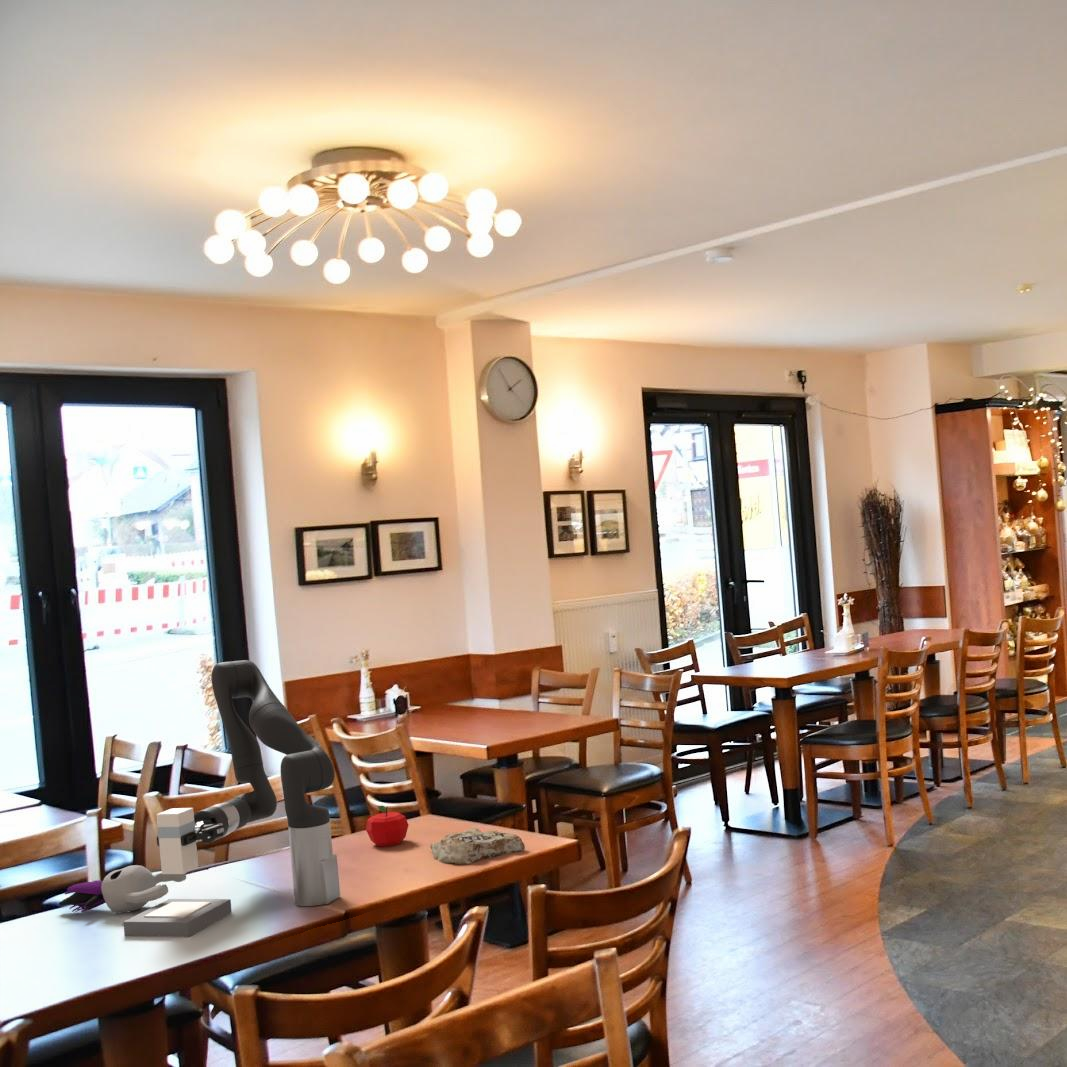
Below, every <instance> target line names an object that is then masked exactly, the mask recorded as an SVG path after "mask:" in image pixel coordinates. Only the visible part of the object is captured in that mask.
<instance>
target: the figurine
mask: <svg viewBox="0 0 1067 1067" xmlns="http://www.w3.org/2000/svg"><path fill="white" fill-rule="evenodd" d="M186 880H187V873H185V874H162V872H159V873H156V874H152V872H151V871H150V869H148V868H147V867H145V866H143V865H138V864H135V865H133V864H132V865H128V866H125V867H123V868H120V869H116V870H112V871H111V872H109V873H108V874H107V875H105V876H104V878H103V880H98V879H97V880H92V881H85V882H80V883H75V884H72V885H70V886H68V887H67V889H66V891H65V892H64V895H69V894H71V895H69V896H68V897H66V898H64V899H62V900H61V901H59V902H58V905H59V906H60V907H61V906H62V907H64V906H70V907H69V910H71V909H72V908H73V909H72V910H71V912H72V913H77V912H81V913H82V912H87V911H91V910H93V909H96V908H97V907H99V906H100V907H101V906H102V905H104V904H106V906H107V907H108V909H109V910H110V911H112V912H113V913H118V914H119V913H120V914H124V913H125V914H126V913H130V912H133V911H136V910H140V908H143V907H144V906H146V905H147V904H148V903H149V902H153V901H156V900H158V899H161V898H163V897H164V896H166V895H168V893H169V888H168V885H167V883H168V882H175V883H181V882H183V881H186ZM159 883H163V884H162V885H161V884H159ZM164 883H166V884H164ZM157 884H158V885H157ZM72 893H73V894H72Z"/></svg>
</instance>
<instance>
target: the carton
mask: <svg viewBox="0 0 1067 1067" xmlns="http://www.w3.org/2000/svg"><path fill="white" fill-rule="evenodd" d="M194 813H195V812H194V807H177V808H176V807H174V808H169V809H166V810H164V811H161V812H159V813H156V822H157V827H156V829H157V836H158V838H159V846H158V847H159V854H160V855H159V858H160V866H161V868H160V870H161V873H162V874H185V873H186V874H187V873H189V872H190V871H193V870H195V869H197V868H199V857H198V848H197V843H196V842H193V843H191V844H188V845H186V846H182V845H181V836H182V835H185V834H187V833H190V832H193V830H195V821H194V815H195V814H194Z"/></svg>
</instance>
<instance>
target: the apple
mask: <svg viewBox="0 0 1067 1067" xmlns="http://www.w3.org/2000/svg"><path fill="white" fill-rule="evenodd" d="M388 808H389V806H384V805H378V806H377V809H379V811H380V812H381V813H377V814H375V815H372V816H370V817H369V818H368V819H367V820H366V821H367V822H366V826H365V831H366V833H367V835H368V837H369V840H370V841H371V842H372V843H373V844H375V846H377V847H378V848H379V847H380V848H383V847H385V848H386V847H387V848H388V847H393V846H398V845H399V844H400V843H402V842H403V840H405V838H406V837H407V833H408V829H409V823H408V820H407V818H406V815H404V814H401V813H399V812H397V811H388Z"/></svg>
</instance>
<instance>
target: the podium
mask: <svg viewBox="0 0 1067 1067" xmlns="http://www.w3.org/2000/svg"><path fill="white" fill-rule="evenodd" d="M230 914H232V899H230V898H228V899H227V898H222V899H221V898H216V899H215V898H214V899H213V898H169V899H166V900H164V901H162V902H161V903H158V904H156V905H155V906H152V907H149V908H148V909H146V910H143V911H142V912H140V913H138V914H136V915H134V916H132V917H129V918H128V919H126V920H124V921H123V922H122V923H123V932H124V933H123V935H124V936H125V937H163V938H164V937H165V938H166V937H167V938H169V937H171V938H178V937H179V938H181V937H184V938H190V937H191V936H193V935H195V934H197V933H198V932H200V931H202V930H204V929H205V928H208V927H209V926H211V925H213V924H214V923H216V922H218V921H220V920H222V919H223V918H225V917H227V916H229V915H230Z"/></svg>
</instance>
